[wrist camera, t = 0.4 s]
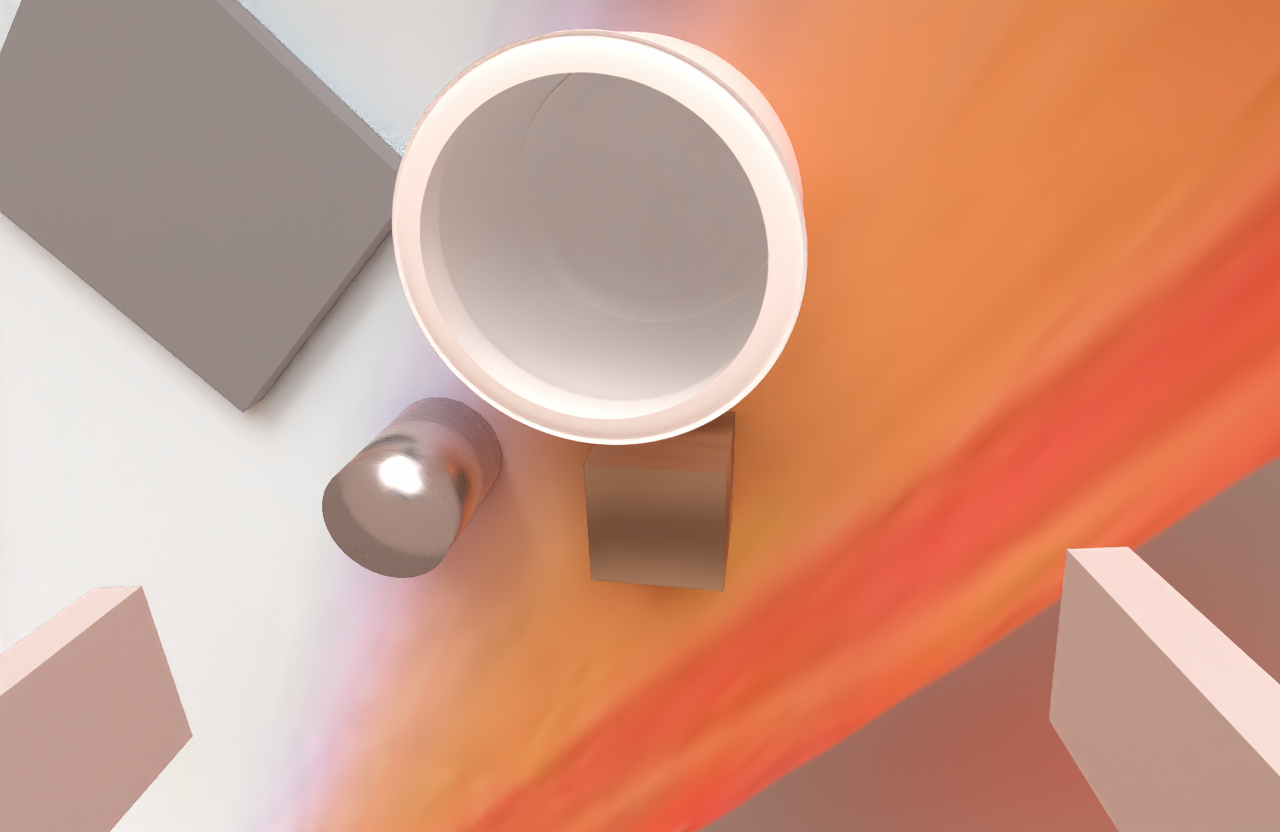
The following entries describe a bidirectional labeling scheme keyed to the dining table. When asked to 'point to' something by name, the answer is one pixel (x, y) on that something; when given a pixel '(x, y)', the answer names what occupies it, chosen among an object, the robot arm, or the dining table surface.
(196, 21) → the slate board
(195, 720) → the dining table surface
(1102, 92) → the dining table surface
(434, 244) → the jar
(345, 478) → the metal tin
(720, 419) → the walnut block
